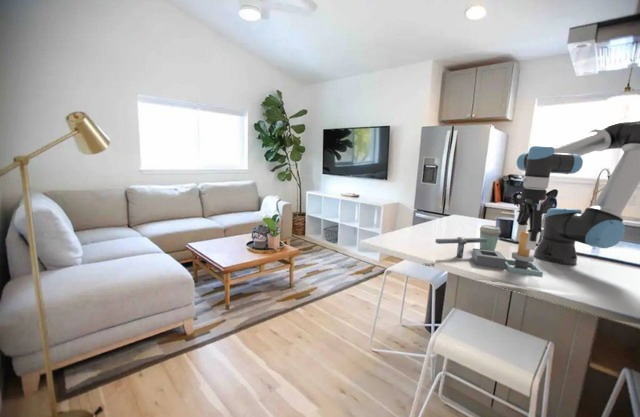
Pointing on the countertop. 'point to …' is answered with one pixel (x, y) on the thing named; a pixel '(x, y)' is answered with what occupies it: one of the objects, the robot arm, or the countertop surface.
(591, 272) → the countertop surface
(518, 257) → the tamper
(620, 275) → the countertop surface
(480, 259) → the socket block
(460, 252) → the grey lever handle
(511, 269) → the tray
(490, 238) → the coffee cup
